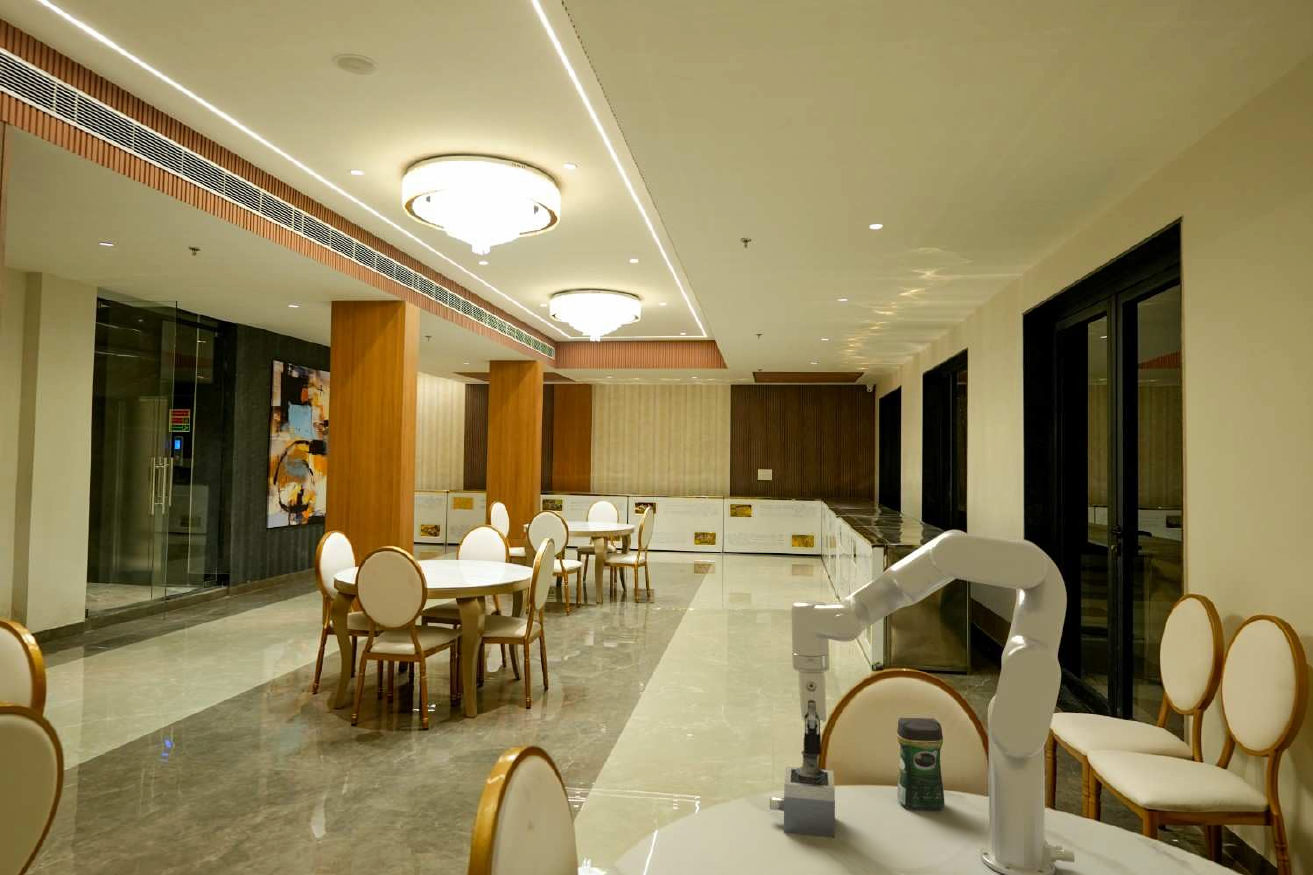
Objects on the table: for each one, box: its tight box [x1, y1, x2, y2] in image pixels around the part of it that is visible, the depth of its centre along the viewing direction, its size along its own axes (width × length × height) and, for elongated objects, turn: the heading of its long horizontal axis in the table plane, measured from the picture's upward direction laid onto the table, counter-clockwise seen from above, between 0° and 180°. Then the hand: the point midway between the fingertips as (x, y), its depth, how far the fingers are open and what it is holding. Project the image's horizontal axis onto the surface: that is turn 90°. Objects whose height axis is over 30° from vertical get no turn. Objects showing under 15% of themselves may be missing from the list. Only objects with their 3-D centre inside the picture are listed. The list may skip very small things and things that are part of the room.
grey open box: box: [769, 766, 836, 839], centre depth 161 cm, size 13×12×10 cm
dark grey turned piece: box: [796, 740, 825, 785], centre depth 160 cm, size 6×6×12 cm
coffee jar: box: [896, 717, 945, 811], centre depth 171 cm, size 10×8×19 cm
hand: (812, 745), depth 160 cm, fingers open, 9 cm apart
